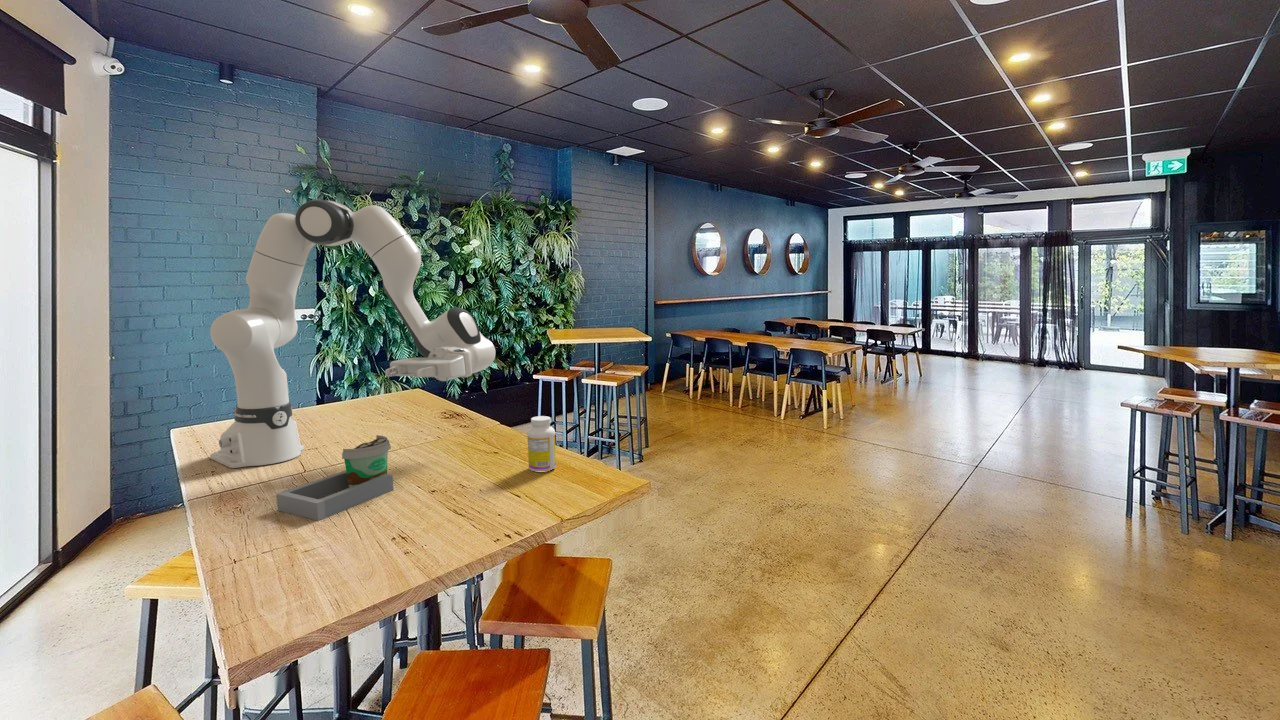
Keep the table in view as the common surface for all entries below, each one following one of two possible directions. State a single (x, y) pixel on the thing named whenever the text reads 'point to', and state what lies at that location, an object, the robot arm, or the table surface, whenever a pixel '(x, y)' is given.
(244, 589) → the table surface
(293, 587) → the table surface
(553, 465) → the supplement bottle
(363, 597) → the table surface
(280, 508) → the grey rectangular tray
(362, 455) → the food container
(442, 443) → the table surface
